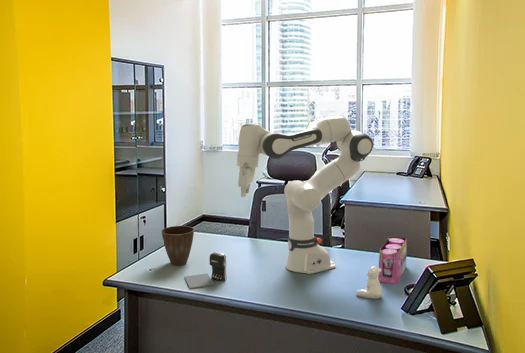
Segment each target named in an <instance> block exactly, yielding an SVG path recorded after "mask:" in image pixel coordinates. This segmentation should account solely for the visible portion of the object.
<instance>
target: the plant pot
mask: <svg viewBox="0 0 525 353" xmlns="http://www.w3.org/2000/svg"><path fill="white" fill-rule="evenodd" d="M194 232H195V228H194V227H192V226H187V225H175V226H169V227H164V228H162V230H161V236H162V241H163V245H164V249H165V251H166V252H165V253H166V254H167V257H168V259H169V261H170V263H171V265H172V266H183V265H186V264H187V263H188V260H189V258H190V253H191V250H192V245H193V241H194Z"/></svg>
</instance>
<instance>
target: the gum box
mask: <svg viewBox="0 0 525 353" xmlns="http://www.w3.org/2000/svg"><path fill="white" fill-rule="evenodd" d="M407 242H408V238H407V237H402V236H401V237H400V236H391V235H390V236H389V237H388V238H387V240H386V241H385V242H384V243H383V244H382V246H381V247H380V248H379V253H378V269H379V268H381V269H382V270H381V272H379V276H378V277H377V278H378V280H379V282H382V283H386V284H387V283H388V284H394V285H397V284H398V282H399V281H400V279H401V277H402V276H403V273H404V271H405V270H406V268H407V250H408V248H407V246H408V245H407V244H408V243H407Z"/></svg>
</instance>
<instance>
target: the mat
mask: <svg viewBox="0 0 525 353" xmlns="http://www.w3.org/2000/svg"><path fill="white" fill-rule="evenodd" d="M184 280H185V282H186V284H187V286H188V288H189V290H193V289H201V288H207V287H214V286H215V283H214V281H213V279H212V278H211V276H209V274H208V272H207V273H201V274H200V273H199V274H193V275H187V276H186V275H185V276H184Z"/></svg>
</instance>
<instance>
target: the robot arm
mask: <svg viewBox="0 0 525 353" xmlns="http://www.w3.org/2000/svg"><path fill="white" fill-rule="evenodd" d="M350 125H351V124H350V122H349V120H348V119H347V118H346V117H344V116H337V115H336V116H329V117H324V118H319V119H315V120H313V121H311V122H309V123H308V124H307V126H306V128H305V130H302V131H299V132H295V133H291V134H283V133H282V134H281V133H274V132H271V131H270V130H268V129H265V128H264V127H262V126H261V125H260V124H259V123H257V122H255V123H253V122H252V123H246V124H243V125H242V126H241V127H240V128H239V129H240V130H239V135H238V144H237V145H238V152H237V155H236V156H237V157H236V166H237V167H239V172H238V181H237V182H238V183H237V185H238V187H239V188H240V197H241V198H245V197H246V196H247V195H246V194H249V192H250V187H251V183H252V182H253V181H254V178H255V172H256V168H258V167H259V158H260V157H259V155H260V154H263V155H265V156H267V157H269V158H271V159H274V160H279V159H281V158H284V157H285V156H287V154H289V153H290V152H292V151H294V150H295V151H296V150H298V149H301V148H306V147H308V146H319V145H326V144H330V143H333V144H334V146H335V147H336V148H337V150H338V151H339V152H340V151H341V152H340V154H339V156H338V157H336V158H334V159H333V160H332V161H330V162H328V163H327V164H325V165H323V166H322V167H320V168H318V169H317V170H316V171H314V172H315V173H314V174H313V175H311V177H310V178H309V179H308V180H306V181H303V180H298V179H297V180H296V179H295V180H292V181H291V180H290V181H289V182H288V183H287V184H286V185H285V186H284V190H283V192H284V196H285V202H286V208H287V215H288V238H287V247H288V255H287V259H286V260H287V261H286V264H285V268H286V269H287V270H289V271H290V272H291V271H292V272H294V273H304V274H308V275H312V274H315V273H319V272H323V271H327V270H331V269H332V270H333V269H335V268H336V264H335V262H334V261H333V260H331V256H330V253H329V252H328V251H327V250H326V249H325V248H324V247H322V246H321V245H320V244H321V243H322V239H321V238H320V237H316V236H315V228H314V227H315V220H314V219H315V218H314V217H313V214H312V211H313V210H315V209H316V208H317V207H319V205H320V203H321V201H322V200H323V199H324V198H325V197H326V196H328V194H329V193H330V192H332V191H334V190H335V189H336V188H338V187H339V186H341V185H342V184H344V183H346V182H347V181H349V179H351V178H352V177H354V176H355V175H356V174H357V173H358V172H359V171H360V168H361V162H362V161H364V160H365V159H366V158H367V157H368V156H369V155H370V154H371V152H372V151H373V149H374V140H373V139H372V137H370V136H369V135H368V134H367V133H364V132H361V131H360V130H355V129H351V126H350Z"/></svg>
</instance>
